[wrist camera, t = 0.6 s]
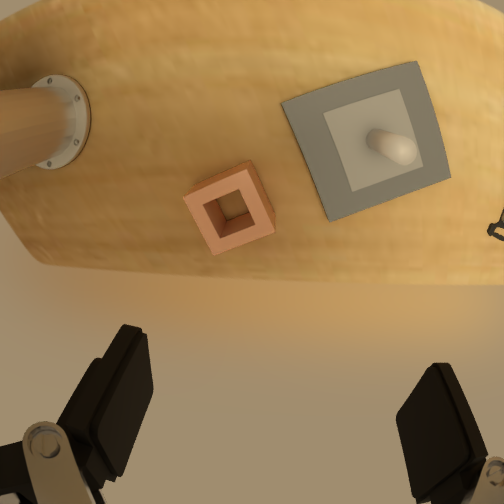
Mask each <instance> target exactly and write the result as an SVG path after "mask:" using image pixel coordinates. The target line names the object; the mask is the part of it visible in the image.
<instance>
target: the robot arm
mask: <svg viewBox="0 0 504 504" xmlns="http://www.w3.org/2000/svg"><path fill="white" fill-rule="evenodd" d="M89 129H90V107H89V102H88V99H87V96H86V94H85V92H84V90H83V89H82V87H81V86H80V85H79V84H78V83H77V82H76V81H75V80H74V79H72V78H70V77H68V76H65V75H49V76H46V77H44V78H42V79H40V80H38V81H37V82H36V83H35V84H34V85H33V86H32V87H31V88H21V89H10V90H1V91H0V179H2V178H4V177H7V176H9V175H11V174H14V173H16V172H18V171H21V170H23V169H26V168H28V167H31V166H33V165H36V166H38V167H41V168H43V169H48V170H49V169H57V168H60V167H63V166H65V165H67V164H69V163H70V162H71V161H73V160H74V159H75V158H76V157H77V155H78V154H79V153H80V151H81V150H82V148H83V147H84V144H85V142H86V140H87V137H88V133H89ZM152 394H153V380H152V373H151V365H150V357H149V349H148V339H147V334H145V333H142V329H141V328H139V327H135V326H130V325H126V324H124V325H122V326H121V328H120V329H119V331H118V333H117V334H116V336H115V338H114V339H113V341H112V343H111V344H110V346H109V348H108V349H107V351H106V353H105V354H104V356H103V358H102V359H101V358H96V359H94V360H93V361H92V363H91V364H90V366H89V367H88V369H87V371H86V372H85V374H84V376H83V377H82V379H81V381H80V383H79V384H78V386H77V388H76V389H75V391H74V393H73V394H72V396H71V398H70V400H69V401H68V403H67V405H66V407H65V408H64V410H63V412H62V414H61V416H60V417H59V419H58V421H57V423H56V424H55V423H52V422H47V421H43V422H38V423H35V424H33V425H31V426H30V427H29V428H28V429H27V430H26V432H25V433H24V436H23V440H22V441H20V442H16V443H12V444H8V445H4V446H0V504H107V502H106V499H105V497H104V495H103V493H102V491H101V489H102V488H103V486H104V483H105V480H109V481H112V482H115V480H116V477H117V476H118V477H121V476H122V475H123V473H124V470H125V467H126V465H127V462H128V459H129V456H130V453H131V451H132V448H133V445H134V443H135V440H136V437H137V435H138V432H139V429H140V426H141V424H142V421H143V418H144V416H145V413H146V411H147V408H148V405H149V403H150V400H151V398H152ZM396 424H397V427H398V432H399V436H400V440H401V444H402V449H403V453H404V457H405V462H406V467H407V471H408V477H409V482H410V487H411V492H412V495H413V497H414V498H416V503H417V504H421V503H426V502H429V501H431V504H504V459H503V458H500V457H492V458H489V459H488V460H487V461H486V458H485V457H486V456H487V455H488V452H487V450H486V447H485V444H484V441H483V439H482V436H481V433H480V431H479V429H478V426H477V423H476V421H475V418H474V416H473V414H472V411H471V409H470V406H469V404H468V402H467V400H466V397H465V395H464V393H463V391H462V388H461V386H460V384H459V382H458V380H457V378H456V375H455V373H454V371H453V369H452V367H451V365H450V364H449V363H433V364H432V365H431V366H430V367H428V368H427V369H426V371H425V373H424V374H423V376H422V377H421V379H420V381H419V382H418V384H417V385H416V387H415V388H414V390H413V391H412V393H411V394H410V396H409V397H408V399H407V400H406V401H405V403H404V404H403V406H402V407H401V408H400V410H399V411H398V413H397V415H396Z"/></svg>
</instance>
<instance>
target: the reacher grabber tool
mask: <svg viewBox="0 0 504 504" xmlns="http://www.w3.org/2000/svg"><path fill="white" fill-rule="evenodd" d="M496 227H500V228H503V229H504V209H503V212H502V214H501V217H500V221H499V222H498V223H496V224H493V223H492V224H490V225H489V227H488V230H487V232H488V234H489V236H492V235H493V236H494V237H496V238H497V239H499V240H501V241H504V237H503V236H502V235H499V234H498V233H494V230H495V229H496Z"/></svg>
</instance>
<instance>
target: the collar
mask: <svg viewBox="0 0 504 504" xmlns="http://www.w3.org/2000/svg"><path fill="white" fill-rule="evenodd" d="M238 189H239V190H240V192H241V195H242V197H243V199H244V201H245V203H246V205H247V207H248V209H249V213H246V214H244V215H241V216H239V217H236V218H234V219H231V220H229V221H226V219H225V217H224V215H223V213H222V211H221V209H220V207H219V205H218V203H217V201H216V198H219V197H221V196H223V195H226V194H228V193H230V192H233V191H235V190H238ZM183 199H184V201H185V203H186V205H187V207H188V208H189V210H190V212H191V214H192V216H193V218H194V220H195V222H196V224H197V226H198V227H199V229H200V231H201V233H202V235H203V237H204V239H205V241H206V242H207V244H208V246H209V248H210V250H211V252H212V254H213V256H214V255H217V254H220V253H222V252H225V251H227V250H230V249H233V248H235V247H238V246H241V245H243V244H246V243H249V242H251V241H254V240H256V239H259V238H262V237H264V236H267V235H270V234H272V233H275V216H276V215H275V213H274V211H273V209H272V206H271V204H270V202H269V200H268V197H267V195H266V193H265V191H264V188H263V186H262V184H261V182H260V180H259V177H258V175H257V173H256V171H255V169H254V166H253V164H252V162H251V160H249V161H247V162H245V163H242V164H240V165H238V166H235V167H233V168H231V169H228V170H226V171H224V172H222V173H219V174H217V175H215V176H213V177H210V178H208V179H206V180H204V181H202V182H199V183H197V184H195V185H194V186H193V187H192V188H191V189H190V190H189V191H188V192H187V193H186V194H185V195H184V197H183Z"/></svg>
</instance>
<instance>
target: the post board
mask: <svg viewBox="0 0 504 504" xmlns="http://www.w3.org/2000/svg"><path fill="white" fill-rule="evenodd" d="M281 105H282V107H283V109H284V111H285V113H286V116H287V118H288V120H289V123H290V125H291V127H292V129H293V132H294V134H295V136H296V139H297V141H298V144H299V146H300V148H301V151H302V153H303V156H304V158H305V160H306V163H307V165H308V168H309V170H310V173H311V175H312V178H313V181H314V183H315V186H316V188H317V191H318V193H319V196H320V199H321V201H322V204H323V207H324V209H325V212H326V215H327V218H328V220H329V222H332V221H335V220H338V219H340V218H343V217H346V216H348V215H351V214H354V213H356V212H359V211H362V210H365V209H367V208H370V207H373V206H375V205H378V204H381V203H384V202H386V201H389V200H392V199H394V198H397V197H400V196H402V195H405V194H408V193H411V192H413V191H416V190H419V189H421V188H424V187H427V186H430V185H432V184H435V183H438V182H440V181H443V180H446V179H449V178H451V174H450V169H449V165H448V160H447V156H446V152H445V148H444V144H443V140H442V136H441V132H440V128H439V125H438V121H437V118H436V115H435V111H434V108H433V105H432V102H431V99H430V96H429V93H428V90H427V87H426V84H425V81H424V78H423V76H422V73H421V70H420V68H419V65H418V62H417V61H414V62H409V63H405V64H401V65H397V66H393V67H390V68H386V69H382V70H379V71H375V72H372V73H368V74H365V75H361V76H358V77H355V78H351V79H348V80H345V81H342V82H339V83H336V84H333V85H330V86H327V87H324V88H321V89H318V90H315V91H312V92H310V93H307V94H304V95H301V96H299V97H296V98H293V99H291V100H288V101H285V102H283V103H281Z"/></svg>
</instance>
